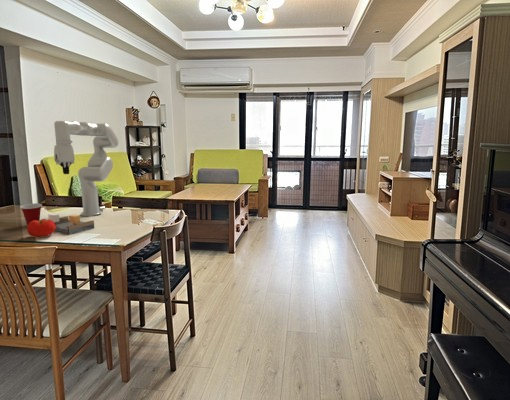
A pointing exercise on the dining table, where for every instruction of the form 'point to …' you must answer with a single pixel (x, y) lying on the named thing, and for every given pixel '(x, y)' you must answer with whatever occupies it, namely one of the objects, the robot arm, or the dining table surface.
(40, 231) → the tomato
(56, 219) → the block
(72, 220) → the block
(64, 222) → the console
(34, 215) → the plastic cup
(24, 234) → the dining table surface
